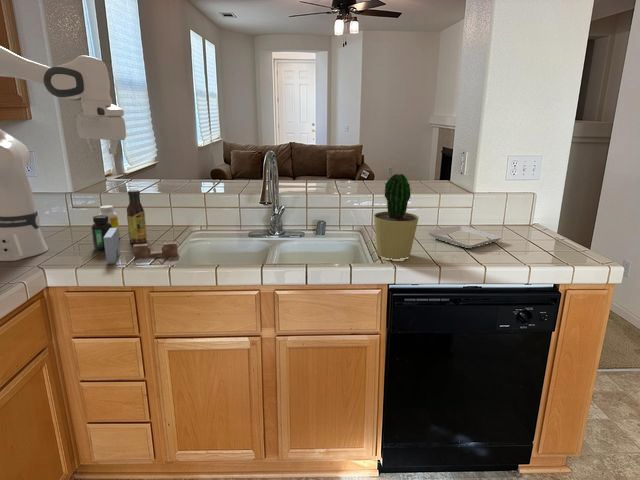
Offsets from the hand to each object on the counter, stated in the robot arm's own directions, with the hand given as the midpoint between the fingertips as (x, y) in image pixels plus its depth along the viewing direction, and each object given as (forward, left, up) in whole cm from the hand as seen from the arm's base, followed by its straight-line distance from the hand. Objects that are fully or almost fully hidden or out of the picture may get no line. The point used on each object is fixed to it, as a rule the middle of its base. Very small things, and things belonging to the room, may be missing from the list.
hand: (103, 153), depth 144 cm
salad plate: (+131, -16, -35) cm, 137 cm away
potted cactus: (+95, -27, -35) cm, 105 cm away
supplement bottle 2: (-5, +6, -35) cm, 36 cm away
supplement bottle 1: (-5, +19, -35) cm, 40 cm away
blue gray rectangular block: (0, -6, -35) cm, 35 cm away
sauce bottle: (+6, +12, -35) cm, 37 cm away
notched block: (+14, -8, -35) cm, 38 cm away
